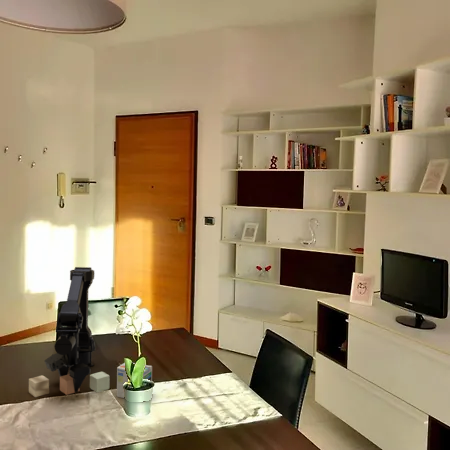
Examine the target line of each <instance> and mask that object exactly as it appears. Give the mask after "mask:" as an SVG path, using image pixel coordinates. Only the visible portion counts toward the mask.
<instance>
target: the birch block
mask: <svg viewBox="0 0 450 450" xmlns="http://www.w3.org/2000/svg"><path fill="white" fill-rule="evenodd" d="M28 393H29V394H30V395H31V396H33V397H34V398H37V397H40V396H44V395H48V394H50V379H49V378H47V377H46V376H44V375H38V376H34V377H31V378H28Z"/></svg>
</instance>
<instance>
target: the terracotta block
mask: <svg viewBox="0 0 450 450" xmlns="http://www.w3.org/2000/svg"><path fill="white" fill-rule="evenodd" d="M69 375H70V373H68V374H67V375H65V376H61V377H60V376H59V391H60V392H61V393H63V394H65V395H66V396H67V395H71V394H74V393H76V392H74V385H73V378H71V377H70V376H69ZM80 389H81V387H80V388H79V390H78V392H80V391H81V390H80Z"/></svg>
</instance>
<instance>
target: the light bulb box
mask: <svg viewBox="0 0 450 450" xmlns="http://www.w3.org/2000/svg"><path fill="white" fill-rule="evenodd" d="M132 363H133V364H135V363H136V362H132ZM144 365H145V369H144V373H143V379H148V380H150V381H152V382H153V366H152V365H147V364H144ZM125 382H128V377H127V374H126V371H125V362H124V363H122V364H120V365H119V366H117V367H116V398H122V399H125V398H124V392H123V384H124V383H125Z"/></svg>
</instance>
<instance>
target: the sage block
mask: <svg viewBox="0 0 450 450" xmlns="http://www.w3.org/2000/svg"><path fill="white" fill-rule="evenodd" d="M110 381H111V380H110V375H109V374H107V373H106V372H104V371H99V372H95V373H92V374H91V373H90V374H89V389H91V390H92V391H94V392H95V393H101V392H103V391H107V390H109V389H110Z"/></svg>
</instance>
